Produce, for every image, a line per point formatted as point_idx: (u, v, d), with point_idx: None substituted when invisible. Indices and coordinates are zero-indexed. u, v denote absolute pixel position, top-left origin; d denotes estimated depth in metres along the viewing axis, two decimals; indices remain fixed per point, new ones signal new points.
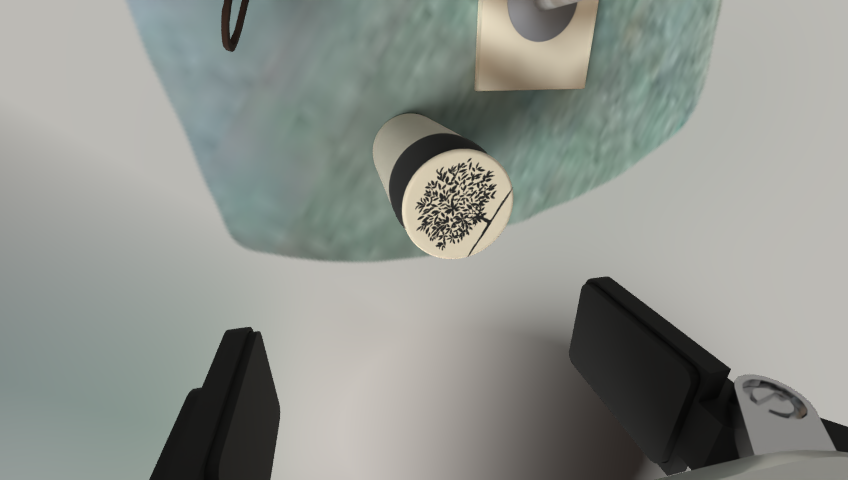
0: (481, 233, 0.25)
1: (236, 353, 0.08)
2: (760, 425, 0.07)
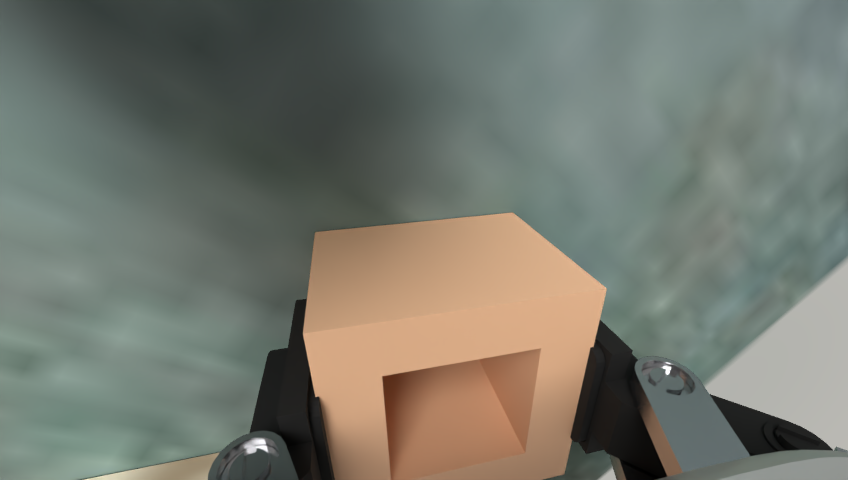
0: None
1: None
2: (665, 409, 0.07)
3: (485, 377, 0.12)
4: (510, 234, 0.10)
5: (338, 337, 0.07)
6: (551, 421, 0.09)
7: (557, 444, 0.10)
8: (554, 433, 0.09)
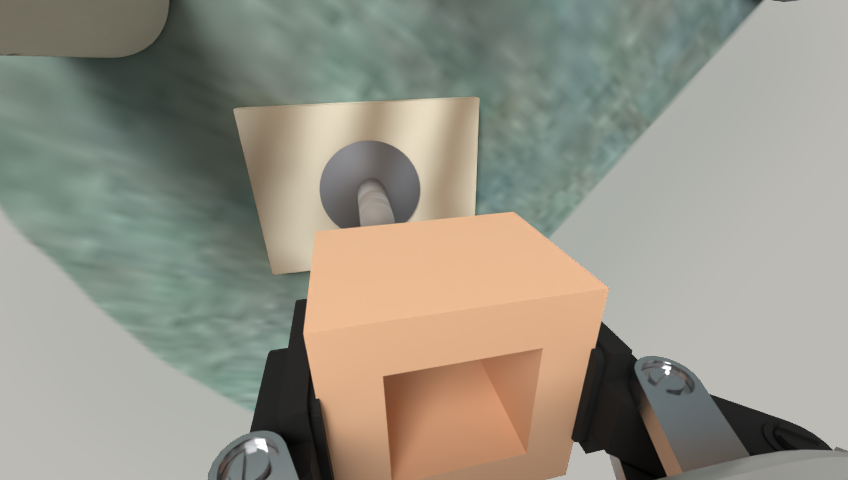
0: None
1: None
2: (665, 409, 0.07)
3: (486, 378, 0.12)
4: (511, 233, 0.10)
5: (339, 337, 0.07)
6: (552, 421, 0.09)
7: (559, 445, 0.09)
8: (556, 433, 0.09)
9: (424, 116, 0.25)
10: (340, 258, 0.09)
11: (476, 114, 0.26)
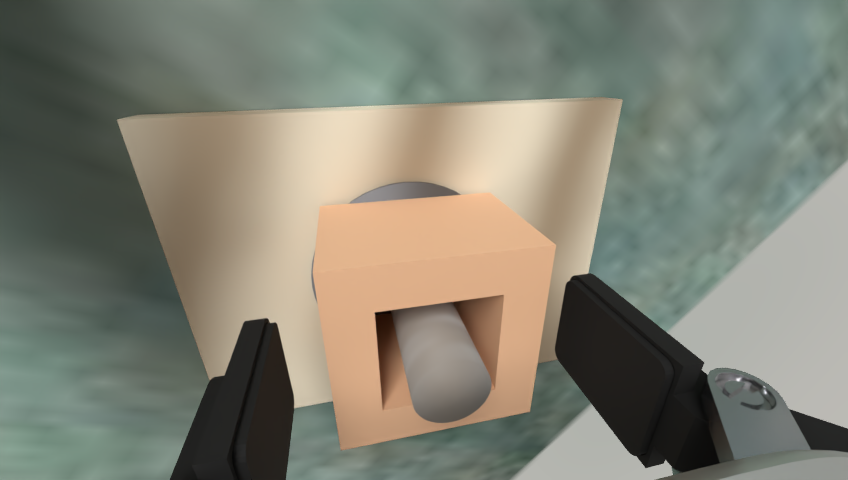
0: None
1: (255, 342, 0.08)
2: (734, 419, 0.07)
3: None
4: (485, 208, 0.12)
5: (340, 277, 0.08)
6: (515, 361, 0.11)
7: (522, 383, 0.11)
8: (519, 372, 0.11)
9: (518, 134, 0.13)
10: (341, 225, 0.11)
11: (612, 130, 0.14)
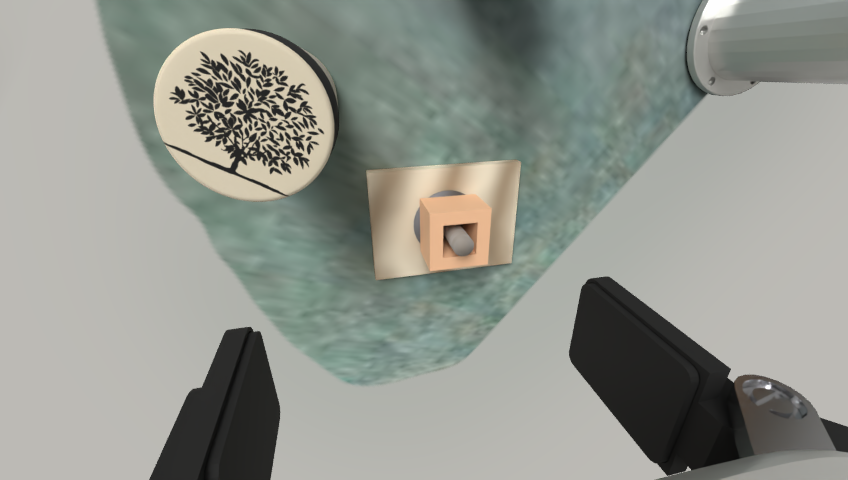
0: (211, 161, 0.17)
1: (236, 353, 0.08)
2: (760, 425, 0.07)
3: None
4: (473, 199, 0.37)
5: (435, 215, 0.34)
6: (482, 244, 0.36)
7: (485, 253, 0.37)
8: (483, 248, 0.36)
9: (485, 174, 0.38)
10: (430, 203, 0.36)
11: (518, 172, 0.39)
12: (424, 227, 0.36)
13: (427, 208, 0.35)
